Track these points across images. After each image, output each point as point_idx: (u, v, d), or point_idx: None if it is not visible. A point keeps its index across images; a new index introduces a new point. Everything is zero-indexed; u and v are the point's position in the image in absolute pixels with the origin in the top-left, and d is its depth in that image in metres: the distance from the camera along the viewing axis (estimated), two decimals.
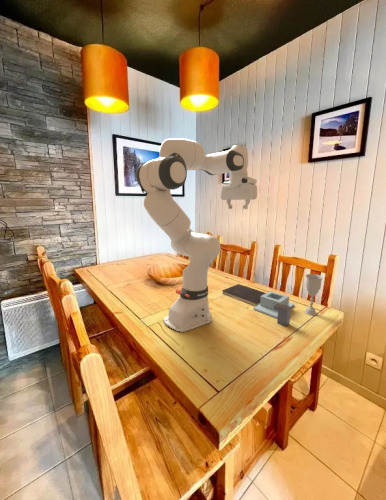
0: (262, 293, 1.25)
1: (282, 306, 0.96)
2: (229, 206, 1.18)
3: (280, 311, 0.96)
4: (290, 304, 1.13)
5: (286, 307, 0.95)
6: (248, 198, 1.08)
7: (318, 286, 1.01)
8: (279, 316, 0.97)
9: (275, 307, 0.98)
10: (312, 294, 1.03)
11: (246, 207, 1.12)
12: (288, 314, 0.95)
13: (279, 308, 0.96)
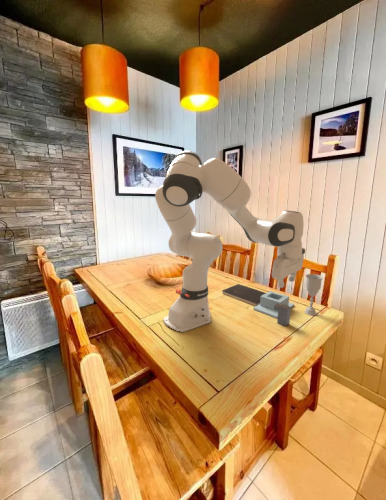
0: (262, 293, 1.25)
1: (282, 306, 0.96)
2: (283, 284, 0.90)
3: (280, 311, 0.96)
4: (290, 304, 1.13)
5: (286, 307, 0.95)
6: (299, 269, 0.96)
7: (318, 286, 1.01)
8: (279, 316, 0.97)
9: (275, 307, 0.98)
10: (312, 294, 1.03)
11: None
12: (288, 314, 0.95)
13: (279, 308, 0.96)
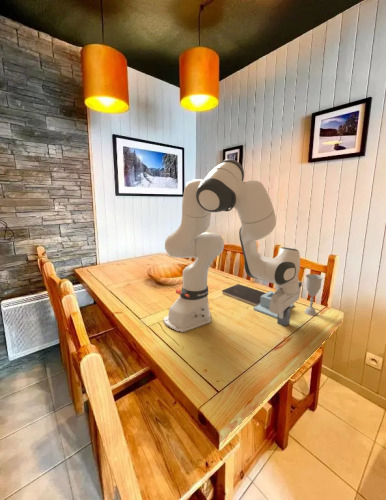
0: (262, 293, 1.25)
1: None
2: (284, 315, 0.95)
3: None
4: None
5: None
6: (296, 300, 0.99)
7: (318, 286, 1.01)
8: None
9: None
10: (312, 294, 1.03)
11: None
12: (288, 314, 0.95)
13: None
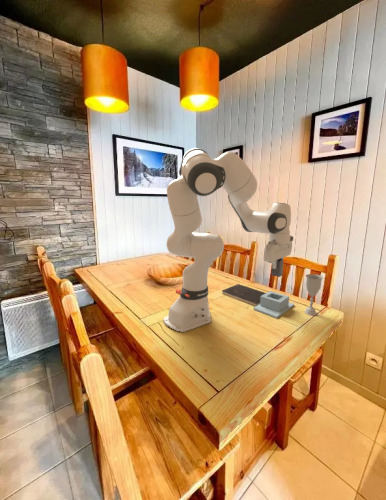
0: (262, 293, 1.25)
1: None
2: (276, 265, 1.05)
3: None
4: (290, 304, 1.13)
5: (279, 259, 1.06)
6: (288, 254, 1.10)
7: (318, 286, 1.01)
8: None
9: None
10: (312, 294, 1.03)
11: None
12: (281, 265, 1.05)
13: None
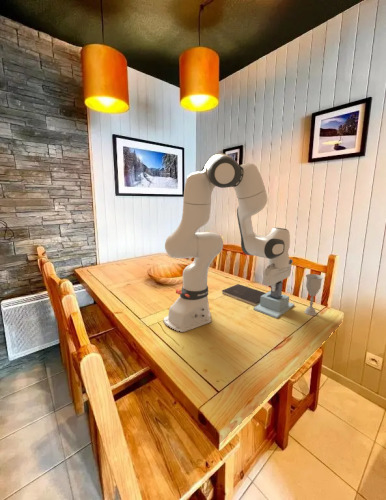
0: (262, 293, 1.25)
1: None
2: (276, 288, 1.07)
3: None
4: (290, 304, 1.13)
5: (278, 282, 1.07)
6: (287, 276, 1.12)
7: (318, 286, 1.01)
8: None
9: None
10: (312, 294, 1.03)
11: None
12: (280, 288, 1.07)
13: None
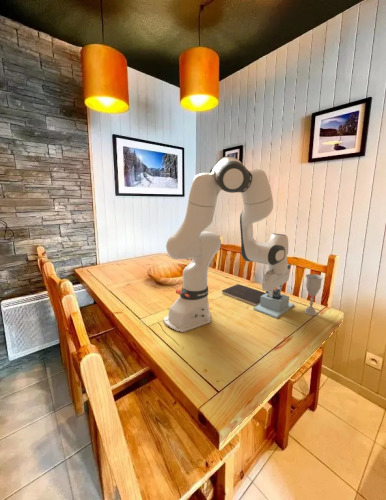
0: (262, 293, 1.25)
1: (273, 290, 1.10)
2: (273, 294, 1.07)
3: None
4: (290, 304, 1.13)
5: (276, 291, 1.09)
6: (286, 281, 1.13)
7: (318, 286, 1.01)
8: None
9: (267, 291, 1.12)
10: (312, 294, 1.03)
11: None
12: (278, 297, 1.09)
13: None
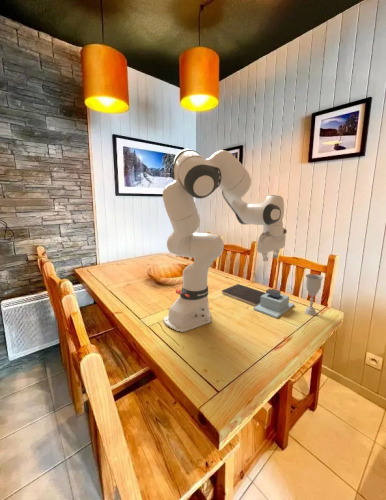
0: (262, 293, 1.25)
1: (273, 290, 1.10)
2: (267, 258, 1.05)
3: (271, 294, 1.10)
4: (290, 304, 1.13)
5: (276, 291, 1.09)
6: (281, 247, 1.12)
7: (318, 286, 1.01)
8: None
9: (267, 291, 1.12)
10: (312, 294, 1.03)
11: None
12: (278, 297, 1.09)
13: (270, 292, 1.10)
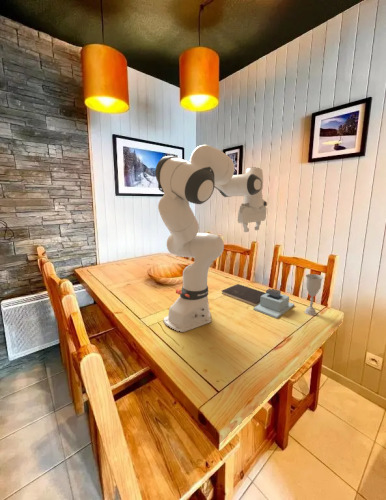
0: (262, 293, 1.25)
1: (273, 290, 1.10)
2: (248, 229, 1.10)
3: (271, 294, 1.10)
4: (290, 304, 1.13)
5: (276, 291, 1.09)
6: (262, 220, 1.16)
7: (318, 286, 1.01)
8: None
9: (267, 291, 1.12)
10: (312, 294, 1.03)
11: None
12: (278, 297, 1.09)
13: (270, 292, 1.10)
